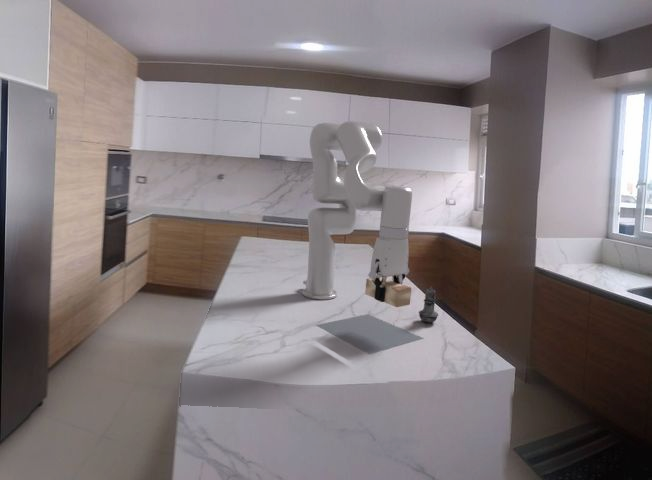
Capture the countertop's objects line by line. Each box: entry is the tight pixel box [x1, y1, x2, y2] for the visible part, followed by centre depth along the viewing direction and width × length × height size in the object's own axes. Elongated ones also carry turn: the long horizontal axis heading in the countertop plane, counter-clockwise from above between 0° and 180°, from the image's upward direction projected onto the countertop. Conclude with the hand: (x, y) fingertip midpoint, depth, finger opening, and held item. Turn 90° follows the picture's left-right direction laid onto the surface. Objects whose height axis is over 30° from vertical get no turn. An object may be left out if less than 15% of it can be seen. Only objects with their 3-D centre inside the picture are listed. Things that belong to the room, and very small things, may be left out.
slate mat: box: [316, 314, 424, 355], centre depth 112 cm, size 22×20×1 cm
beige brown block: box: [364, 277, 412, 308], centre depth 111 cm, size 12×5×5 cm, turn 38°
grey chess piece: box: [418, 285, 439, 325], centre depth 122 cm, size 6×6×12 cm
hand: (386, 298), depth 111 cm, fingers closed on beige brown block, 5 cm apart
